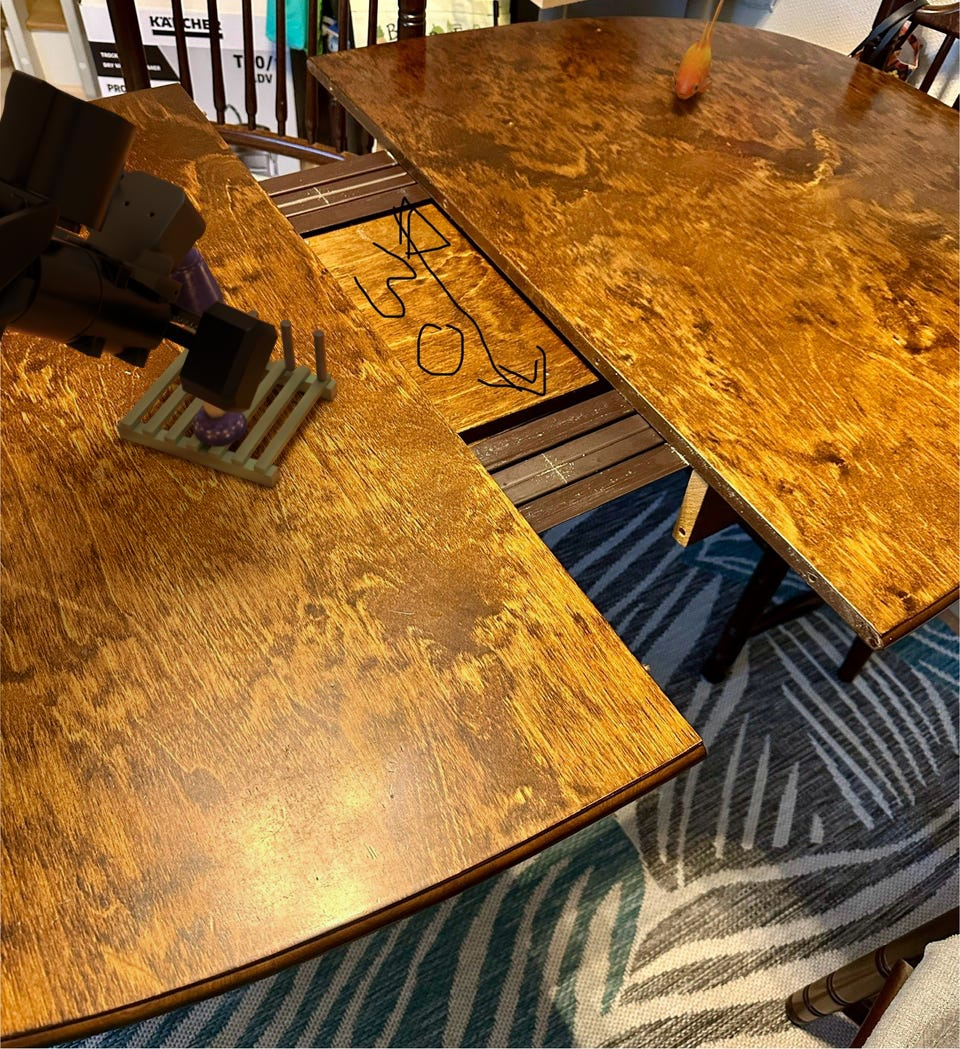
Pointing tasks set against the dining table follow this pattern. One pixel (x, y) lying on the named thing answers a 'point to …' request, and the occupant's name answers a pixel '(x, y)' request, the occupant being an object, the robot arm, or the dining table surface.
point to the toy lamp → (196, 297)
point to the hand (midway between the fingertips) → (214, 338)
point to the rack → (241, 460)
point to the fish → (696, 64)
